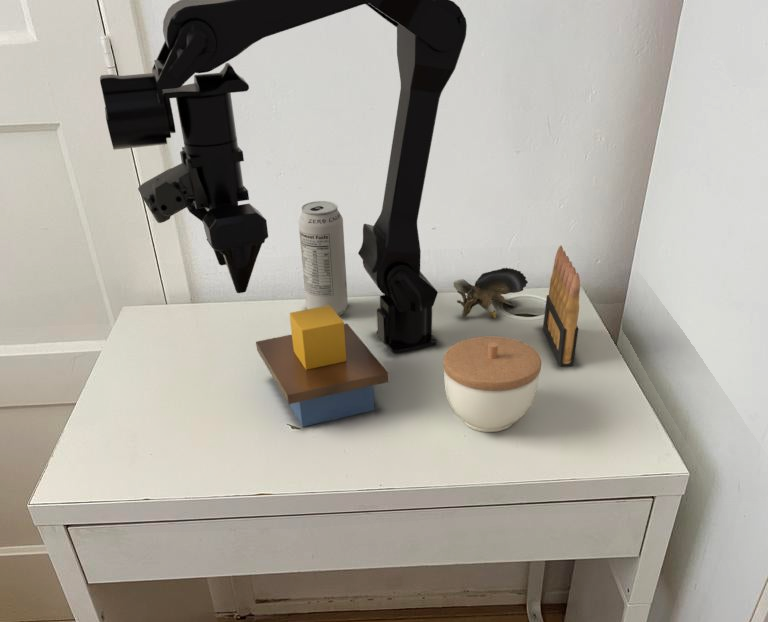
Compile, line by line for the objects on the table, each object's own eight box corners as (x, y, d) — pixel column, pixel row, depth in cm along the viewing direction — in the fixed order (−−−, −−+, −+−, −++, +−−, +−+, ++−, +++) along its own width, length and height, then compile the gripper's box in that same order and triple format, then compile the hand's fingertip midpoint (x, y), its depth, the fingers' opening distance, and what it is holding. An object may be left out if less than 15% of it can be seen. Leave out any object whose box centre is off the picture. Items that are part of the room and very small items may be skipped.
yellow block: (332, 343, 95) (329, 304, 92) (346, 361, 92) (344, 322, 88) (293, 351, 94) (289, 312, 91) (305, 370, 90) (301, 330, 87)
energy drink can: (356, 310, 114) (351, 205, 105) (327, 324, 111) (319, 217, 101) (327, 299, 117) (319, 196, 108) (298, 313, 114) (287, 208, 104)
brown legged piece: (487, 324, 107) (537, 296, 109) (465, 276, 105) (515, 248, 108) (461, 333, 114) (508, 306, 117) (440, 288, 112) (488, 262, 115)
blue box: (341, 365, 102) (339, 337, 99) (374, 410, 93) (373, 380, 90) (274, 379, 99) (270, 351, 97) (302, 427, 90) (298, 397, 88)
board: (347, 331, 100) (347, 323, 99) (388, 382, 90) (388, 372, 89) (256, 350, 97) (255, 341, 96) (288, 404, 87) (287, 395, 86)
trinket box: (449, 446, 87) (451, 372, 81) (436, 397, 95) (437, 325, 89) (544, 440, 87) (554, 365, 81) (523, 391, 95) (530, 319, 89)
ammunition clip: (573, 366, 100) (586, 275, 92) (559, 366, 100) (571, 276, 92) (555, 328, 108) (566, 242, 100) (542, 329, 108) (552, 243, 100)
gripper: (123, 129, 89) (153, 262, 99) (148, 172, 76) (179, 321, 86) (219, 117, 92) (238, 247, 102) (259, 157, 79) (277, 303, 89)
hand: (232, 277), depth 94 cm, fingers open, 9 cm apart
